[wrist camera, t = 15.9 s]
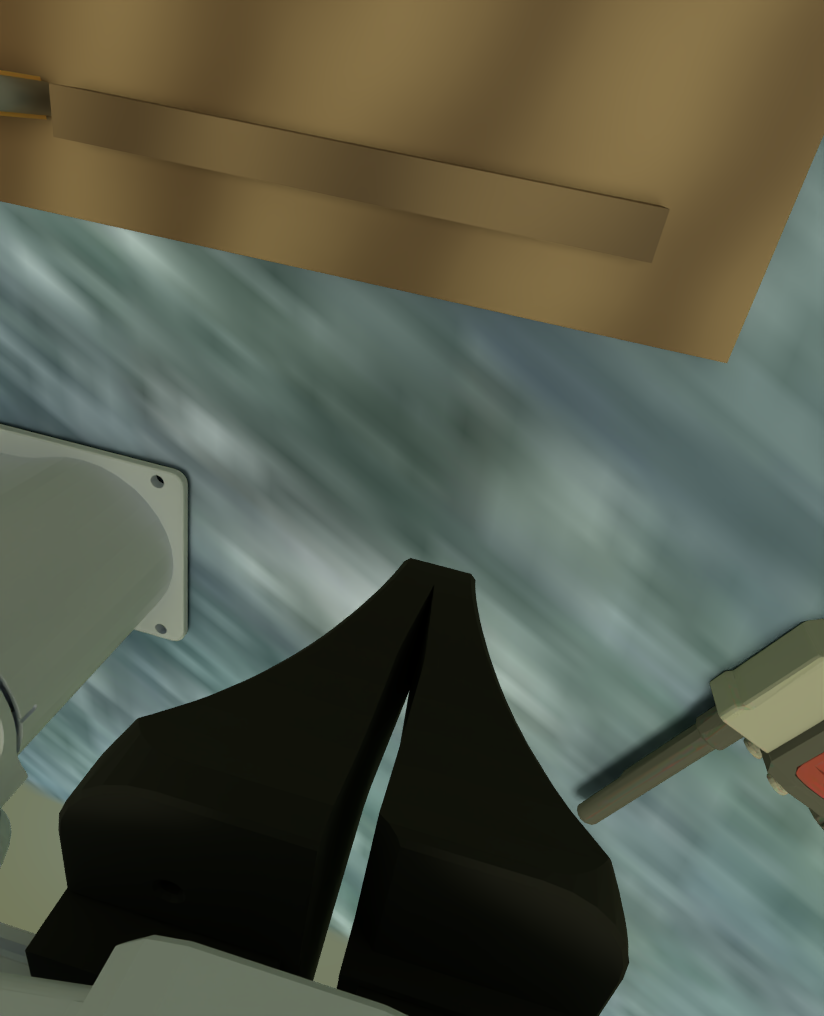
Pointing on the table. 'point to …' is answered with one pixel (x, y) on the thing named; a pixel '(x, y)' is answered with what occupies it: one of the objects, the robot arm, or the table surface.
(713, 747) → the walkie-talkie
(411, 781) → the robot arm
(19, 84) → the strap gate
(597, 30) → the cradle
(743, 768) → the table surface
